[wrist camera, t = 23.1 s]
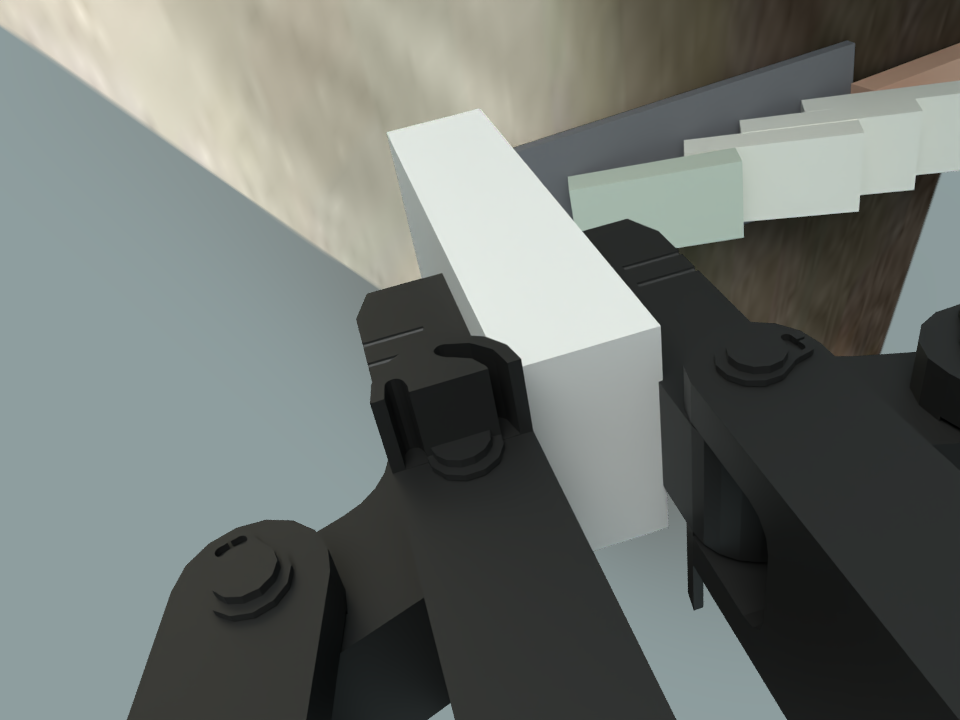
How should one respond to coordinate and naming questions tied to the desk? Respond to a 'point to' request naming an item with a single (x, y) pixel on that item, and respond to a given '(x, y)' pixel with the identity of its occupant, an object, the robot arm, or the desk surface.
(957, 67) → the end domino
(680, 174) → the domino
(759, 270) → the desk surface
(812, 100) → the domino
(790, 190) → the domino
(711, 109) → the domino mat
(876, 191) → the domino
